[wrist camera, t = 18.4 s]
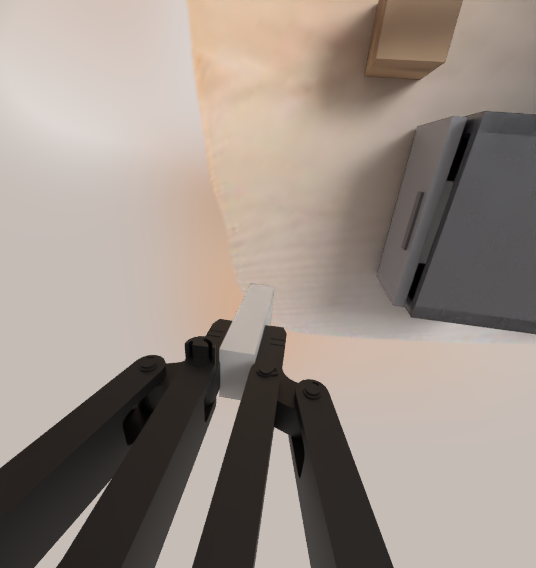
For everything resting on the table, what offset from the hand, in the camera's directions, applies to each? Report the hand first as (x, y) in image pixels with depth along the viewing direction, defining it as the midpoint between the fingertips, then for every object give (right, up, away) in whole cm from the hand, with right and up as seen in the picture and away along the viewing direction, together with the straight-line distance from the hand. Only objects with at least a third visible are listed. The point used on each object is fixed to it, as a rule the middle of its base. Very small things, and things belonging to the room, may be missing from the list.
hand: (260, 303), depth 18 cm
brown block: (+12, +22, +6) cm, 26 cm away
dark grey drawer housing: (+22, +8, +11) cm, 26 cm away
